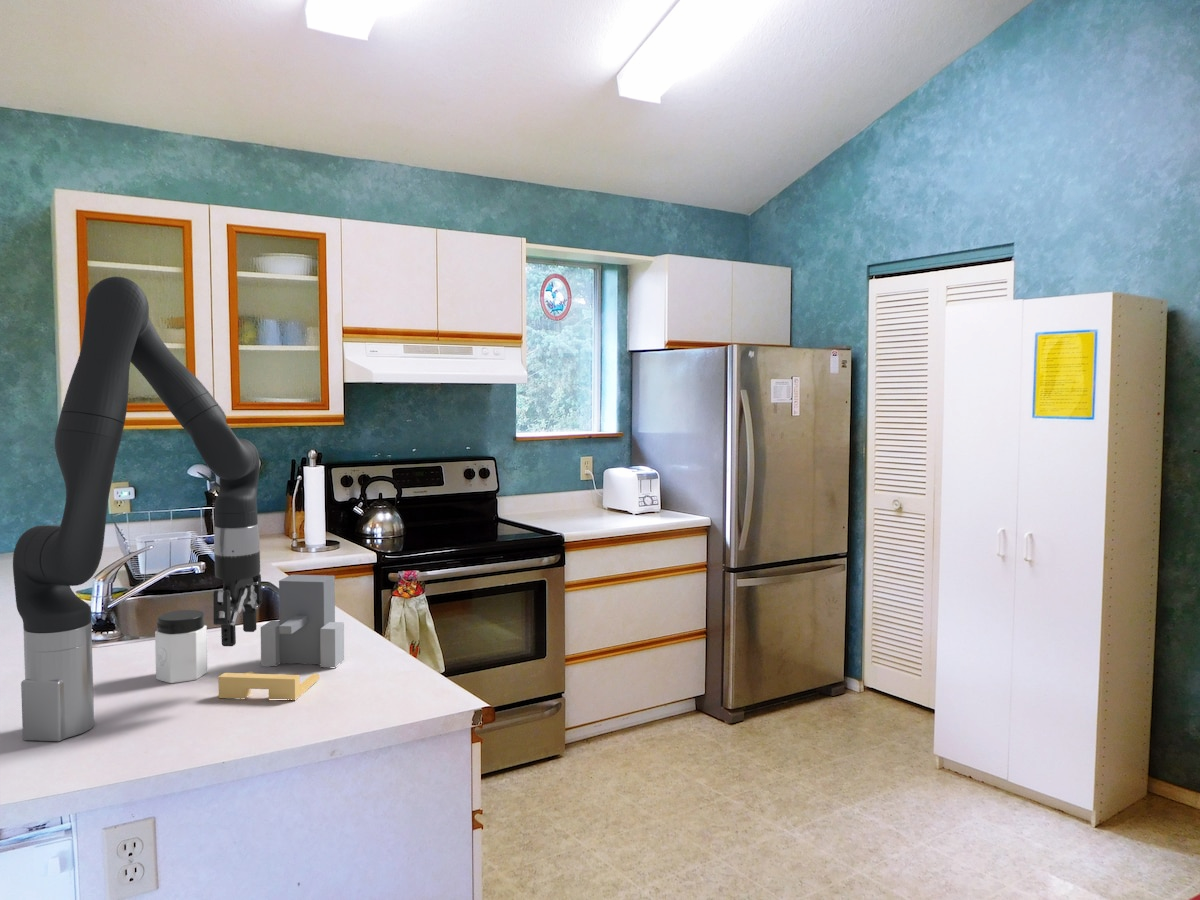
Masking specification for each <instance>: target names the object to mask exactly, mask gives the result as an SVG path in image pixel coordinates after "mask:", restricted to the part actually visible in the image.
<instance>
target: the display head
mask: <svg viewBox="0 0 1200 900" xmlns="http://www.w3.org/2000/svg"><path fill="white" fill-rule="evenodd" d="M335 577H336V576H335V575H327V574H326V575H325V574H324V575H322V574H321V575H318V574H316V575H315V574H290V575H288V576H285V578H282V579H280V580H279V581H278V599H279V600H278V605H279V606H278V609H279V611H278V613H279V614H278V617H279V620H273V619H272V620H270V621H268V622H267V623H264V625H261V626H260V664H261V667H270V666H276V665H277V666H278V664H279V663H303V664H302V665H312V664H321V665H320V668H321V667H336V666H337V665H338V664H339V663H341V662H342V661H343V660H344V661H345V622H344V621H343V622H339V621H336V603H335V602H336V601H335V600H336V596H335V595H336V591H335V590H336V587H335V586H336V584H335V582H336V581H335V579H336V578H335ZM344 661H343V662H344ZM343 662H342V663H343ZM304 663H306V664H304ZM342 663H341V664H342ZM279 665H280V664H279ZM277 666H276V667H277ZM336 668H337V667H336Z"/></svg>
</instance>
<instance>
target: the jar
mask: <svg viewBox="0 0 1200 900" xmlns="http://www.w3.org/2000/svg"><path fill="white" fill-rule="evenodd" d="M156 627H157V629H156V630H155V632H154V639H155V641H154V642H155V645H154V649H155V651H154V652H155V678H156V680H158V681H161V682H165V683H168V684H176V683H184V682H191V681H197V680H198V679H200V678H201V677H202V676H204V675H205V674H207V673H208V671H209V670H208V634H207V633H208V628H207V627H208V625H206V624H205V613H204V612H203V611H201V610H197V609H182V610H174V611H168V612H163V613H162V614H160V615H158V616H157V618H156Z"/></svg>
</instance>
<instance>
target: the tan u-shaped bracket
mask: <svg viewBox="0 0 1200 900" xmlns="http://www.w3.org/2000/svg"><path fill="white" fill-rule="evenodd" d="M217 678H218V680H217V681H218V699H219V698H240V699H239V700H242V699H241V698H246V697H247V696H249V695H250V694H252V693H251V690H268V700H269V699H287V700H288V699H289V700H291V699H292V700H295V699H296V698H297V697H299V696H300V695H301V694H302V693H304V692H305V691H306V690H307V689H308V688H309V687H310V686H312V685H313V684H314V683H315V682H316V681H317V680H318V679H319V680H320V674H319V673H312V674H311V675H309V676H308V677H307V678H306V679H305V680H303V681H302V682H301V675H300V674H280V673H279V674H277V673H276V674H275V673H274V674H273V673H255V672H254V671H246V672H244V673H243V672H242V673H241V672H237V673H236V672H224V673H221V674H220V675H219V676H218V677H217ZM317 682H318V681H317ZM317 682H316V683H317ZM316 683H315V684H316ZM315 684H314V685H315ZM314 685H313V686H314ZM313 686H312V687H313ZM309 689H310V688H309ZM309 689H308V690H309ZM308 690H307V691H308ZM307 691H306V692H307ZM306 692H305V693H306ZM305 693H304V694H305ZM250 696H251V695H250ZM250 696H249V697H250ZM301 696H302V695H301ZM301 696H300V697H301ZM300 697H299V698H300ZM247 698H248V697H247ZM247 698H246V699H247Z"/></svg>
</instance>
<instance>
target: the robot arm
mask: <svg viewBox="0 0 1200 900" xmlns="http://www.w3.org/2000/svg"><path fill="white" fill-rule="evenodd" d="M149 311H150V307H149V301H148V298H147V295H146V294H145V293H144V290H142V288H141V287H140V286H139V285H138V284H137V283H135V282H134V281H133V280H131V279H130V278H127V277H122V276H110V277H109V276H108V277H105V278H104V279H102V280H99V281H98V282H97V283H95V284H94V286H93V287H91V289H90V290H89V292H88V293H87V296H86V301H85V316H84V328H83V333H82V335H83V336H82V340H81V347H80V352H79V356H78V358H77V362H76V364H75V366H74V369H73V372H72V375H71V378H70V382H69V383H68V388H67V390H66V394H65V397H64V400H63V404H62V406H61V407H62V408H61V411H60V414H59V417H58V418H59V419H58V423H57V427H56V430H55V431H56V432H55V436H54V437H55V438H54V451H55V455H56V458H57V459H56V460H57V463H58V464H59V465H58V466H59V468H60V469H59V470H60V471H61V474H62V477H63V482H64V486H65V505H64V510H63V515H62V519H61V522H60V525H59V526H58V525H37V526H34V527H30V528H29V529H26V530H25V531H24V532H23V533H22V534H21V535H20V536H19V538H18V540H17V542H16V544H15V547H14V550H13V555H12V556H13V557H12V572H13V585H14V595H15V604H16V605H15V606H16V610H17V611H18V614H19V616H20V618H21V619H22V625H23V626H22V627H23V647H24V648H23V652H24V653H23V654H24V655H23V656H24V657H23V658H24V659H23V660H24V661H23V662H24V679H23V680H22V681H20V682H21V683H20V692H21V721H22V723H21V724H22V740H24V741H43V742H44V741H49V742H60V741H63V740H65V739H68V738H71V737H75V736H77V735H78V736H79V735H81V734H83V733H85V732H87V731H89V730H91V729H92V728H93V727H94V725H95V704H94V703H95V702H94V701H95V700H94V673H93V672H94V671H93V670H94V669H93V668H94V667H93V666H94V665H93V634H92V632H93V631H92V629H93V627H92V625H93V624H92V609H91V606H90V604H89V603H87V602H86V601H84V600H83V599H81V598H80V597H78V596H77V594H75V592H74V591H73V590H72V588H71V587H73V586H74V587H75V586H81V585H83V584H85V583H86V582H88V581H90V580H91V579H92V578H93V576H94V575H95V573H96V572H97V569H98V568H99V565H100V563H101V559H102V557H103V556H102V555H103V549H104V544H105V543H104V542H105V533H106V525H107V523H106V522H107V513H108V505H109V498H110V497H109V496H110V492H111V487H112V482H113V477H114V476H113V475H114V471H115V466H116V462H117V461H116V460H117V457H118V454H119V450H120V446H121V441H122V438H123V432H124V428H125V423H126V417H127V410H128V400H129V388H130V387H129V386H130V370H131V369H130V368H131V364H132V365H133V366H134V367H135V368H136V369H137V370H138V372H139V373H140V374H141V375H142V377H144V379H145V380H146V381H147V382H148V384H149V385H150V386H151V388H152V389H153V391H154V392H155V393H156V395H158V397H159V398H160V400H161V401H162V402H163V404H164V405H165V407H166V408H167V409H168V410H169V412H170V413H171V415H172V416H173V417H174V418H175V419H176V421H177V422H178V423H179V425H180V426H181V428H183V430H184V431H185V432H186V433H187V434H188V435H189V437H190V438H191V440H192V442H193V443H194V446H195V448H196V450H197V451H198V453H199V455H200V456H201V458H202V460H203V461H204V463H205V464H206V466H207V467H208V468H209V469H210V471H211V472H212V473H213V474H214V475H216V477H218V478H219V489H218V490H219V491H218V494H217V495H216V497H215V500H214V526H215V527H214V536H213V550H214V552H213V553H214V556H213V557H214V576H215V577H216V578H217V579H219V580H222V582H223V586H222V589H220V590H217V589H216V590H214V591H213V595H212V597H213V601H212V602H213V625H217V626H220V628H221V629H220V630H221V631H220V632H221V633H220V634H221V636H220V637H221V639H220V640H221V645H222V646H223V647H234V646H235V645H236V643H237V636H236V621H237V617H238V615H239V614H241V612H242V630H243V632H245V633H254V632H256V630H257V611H259V606H261V605H262V603H263V591H262V576H261V550H260V549H261V547H260V545H261V544H260V541H261V540H260V539H261V538H260V532H259V526H258V521H259V520H258V504H257V503H258V501H257V496H258V495H257V494H258V490H259V489H258V486H259V478H260V467H261V465H260V453H259V451H258V448H257V447H256V445H255V444H254V443H253V442H251V441H250V440H248V439H245V438H242V437H237V435H236V434H235V432H234V431H233V430H232V428H231V427H230V426H229V424H228V423H227V415H226V414H225V412H224V410H223V409H222V407H221V406H220V404H219V403H218V402H217V400H216V399H215V398H214V397H213V396H212V394H211V393H210V392H209V391H208V389H207V388H206V386H205V385H204V384H203V383H202V382H201V381H200V380H199V379H198V378H197V377H196V375H195V374H193V372H191V371H190V370H189V369H188V368H187V367H186V366H185V365H184V364H183V363H182V362H180V361H179V359H178V358H177V357H176V356H175V355H174V354H173V353H172V351H171V350H170V349H169V348H168V347H167V345H166V344H165V343H164V341H163V340H162V338H161V337H160V335H159V333H158V332H157V330H156V328H155V326H154V325H153V323H152V320H151V318H150V317H149V316H150V314H149V313H150V312H149Z"/></svg>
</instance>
